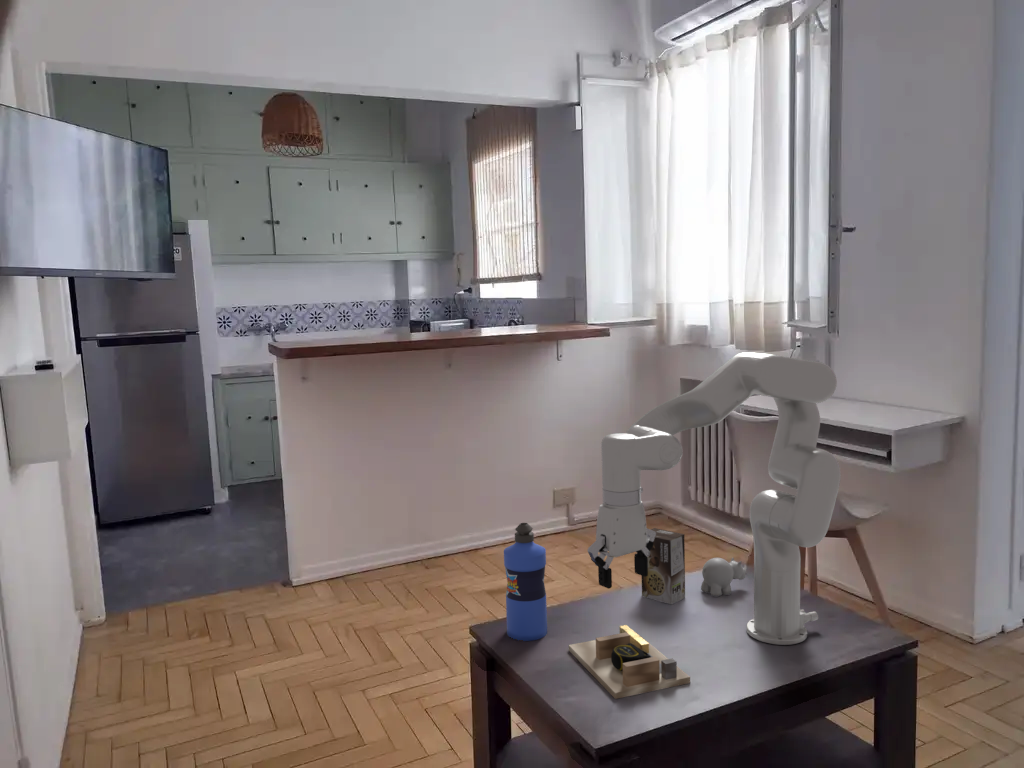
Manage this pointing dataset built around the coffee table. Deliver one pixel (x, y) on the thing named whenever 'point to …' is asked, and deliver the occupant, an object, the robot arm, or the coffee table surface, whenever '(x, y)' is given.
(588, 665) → the dock
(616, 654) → the tape measure
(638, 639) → the yellow bar
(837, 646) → the coffee table surface
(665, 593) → the coffee box
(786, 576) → the robot arm
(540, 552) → the water bottle
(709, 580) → the white animal figurine
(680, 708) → the coffee table surface
